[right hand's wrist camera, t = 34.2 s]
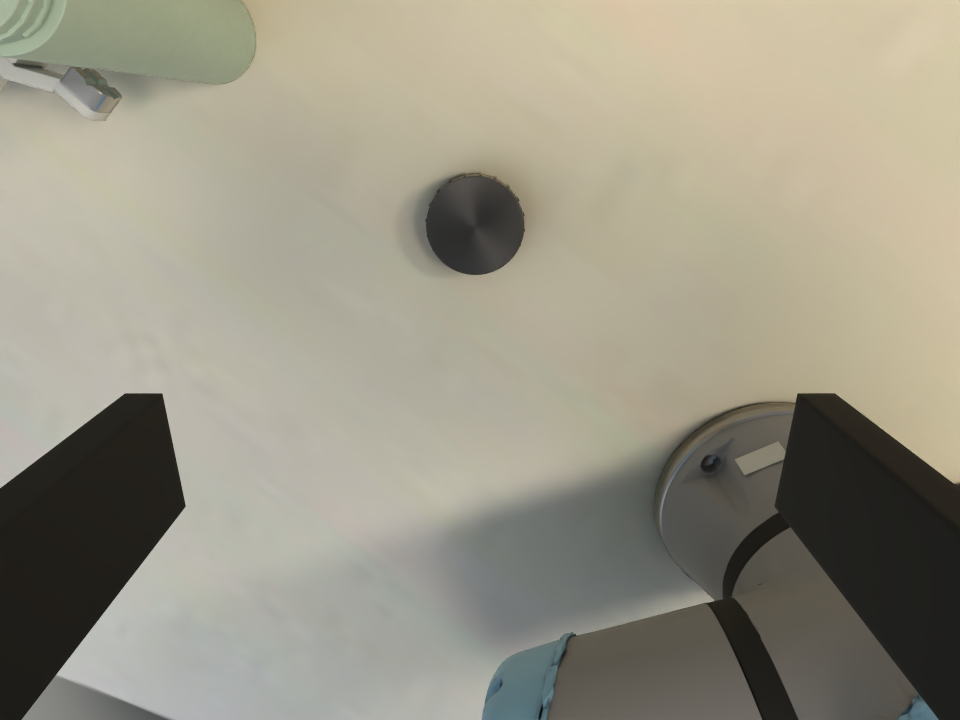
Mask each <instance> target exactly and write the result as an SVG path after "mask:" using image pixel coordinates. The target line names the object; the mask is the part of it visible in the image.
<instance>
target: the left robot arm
mask: <svg viewBox="0 0 960 720" xmlns="http://www.w3.org/2000/svg"><path fill="white" fill-rule="evenodd" d="M47 64H48V63H44V62H36V61H29V60H21V59H13V58H5V57H0V92H1V91H2V89H3V88H4V86H5V85H6V84H7V82H8V81H13V82H16V83H20V84H23V85H27V86H31V87H34V88H38V89H41V90H45V91H48V92H52V93H57V94H58V95H59V96H60V97H62V98H63V99H64V100H65V101H66V102H67V103H68V104H69V105H71V106H72V107H73V108H74V109H75V110H76V111H77V112H79V113H80V114H81V115H82V116H84V117H86V118H88V119H89V120H92V121H105V120H106V119H107V118H108V116H109V115H110V113H111V112H112V111H113V109H114V108H115V107H116V105H117V104H118V103H119V101H120V100H121V99H122V95H121V94H120V93H119V92H118V91H117V90H116V89H115V88H114V87H109V86H108V84H107V81H106V80H105V79H104V78H103V77H102V76H101V75H100V74H99V73H98V72H97V71H95V70H94V69H87V68H86V69H84V70H82V69H81V68H80V67H71V68H70V69H69V70H68V72H67V73H66V74H65V76H64V75H61V74H58V73H55V72H51V71H48V70H45V69H44V68H43V67H46V66H47Z"/></svg>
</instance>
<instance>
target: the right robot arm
mask: <svg viewBox="0 0 960 720" xmlns="http://www.w3.org/2000/svg"><path fill="white" fill-rule="evenodd" d="M185 507H186V506H185V501H184V496H183V491H182V486H181V481H180V477H179V472H178V467H177V462H176V457H175V453H174V448H173V443H172V438H171V433H170V428H169V424H168V419H167V414H166V409H165V404H164V399H163V395H162V394H124V395H123V396H121V397H120V398H119V399H117V400H116V401H115V402H113V403H112V404H111V405H109V406H108V407H107V408H105V409H104V410H103V411H102V412H100V413H99V414H98V415H96V416H95V417H94V418H92V419H91V420H90V421H88V422H87V423H86V424H84V425H83V426H82V427H80V428H79V429H78V430H77V431H75V432H74V433H73V434H71V435H70V436H69V437H67V438H66V439H65V440H63V441H62V442H61V443H59V444H58V445H57V446H55V447H54V448H53V449H51V450H50V451H49V452H48V453H46V454H45V455H44V456H42V457H41V458H40V459H38V460H37V461H36V462H34V463H33V464H32V465H30V466H29V467H28V468H26V469H25V470H24V471H23V472H21V473H20V474H19V475H17V476H16V477H15V478H13V479H12V480H11V481H9V482H8V483H7V484H5V485H4V486H3V487H1V488H0V720H22V718H23V717H24V716H25V714H26V713H27V712H28V710H29V709H30V708H31V707H32V705H33V704H34V703H35V701H36V700H37V699H38V697H39V696H40V695H41V694H42V692H43V691H44V690H45V688H46V687H47V686H48V684H49V683H50V682H51V681H52V679H53V678H54V677H55V675H56V674H57V673H58V671H59V670H60V669H61V668H62V666H63V665H64V664H65V662H66V661H67V660H68V658H69V657H70V656H71V655H72V653H73V652H74V651H75V649H76V648H77V647H78V645H79V644H80V643H81V642H82V640H83V639H84V638H85V636H86V635H87V634H88V633H89V631H90V630H91V629H92V627H93V626H94V625H95V623H96V622H97V621H98V620H99V618H100V617H101V616H102V614H103V613H104V612H105V610H106V609H107V608H108V607H109V605H110V604H111V603H112V601H113V600H114V599H115V597H116V596H117V595H118V594H119V592H120V591H121V590H122V588H123V587H124V586H125V584H126V583H127V582H128V581H129V579H130V578H131V577H132V575H133V574H134V573H135V571H136V570H137V569H138V568H139V566H140V565H141V564H142V562H143V561H144V560H145V558H146V557H147V556H148V555H149V553H150V552H151V551H152V549H153V548H154V547H155V546H156V544H157V543H158V542H159V540H160V539H161V538H162V536H163V535H164V534H165V533H166V531H167V530H168V529H169V527H170V526H171V525H172V523H173V522H174V521H175V520H176V518H177V517H178V516H179V514H180V513H181V512H182V510H183V509H184V508H185ZM654 510H655V519H656V523H657V527H658V530H659V532H660V535H661V537H662V539H663V542H664V544H665V546H666V549H667V551H668V552H669V554H670V556H671V558H672V559H673V560H674V562H675V563H676V564H677V565H678V567H679V568H680V569H681V570H682V571H683V572H684V573H685V574H686V575H687V576H688V577H690V578H691V579H692V580H693V581H695V582H696V583H697V584H698V585H699V586H700V587H701V588H702V589H703V590H704V591H705V592H706V593H707V594H708V595H709V596H711V597H712V598H713V599H714V600H715V601H713V602H709V603H703V604H699V605H695V606H691V607H688V608H684V609H680V610H676V611H672V612H668V613H664V614H661V615H657V616H653V617H649V618H645V619H641V620H638V621H634V622H630V623H626V624H622V625H618V626H615V627H611V628H607V629H603V630H599V631H595V632H591V633H587V634H583V635H578V636H576V634H574V633H573V632H571V633H567V634H564V635H563V636H562V637H561V638H560V640H557V641H553V642H550V643H547V644H544V645H541V646H538V647H534V648H531V649H528V650H525V651H522V652H519V653H516V654H514V655H512V656H510V657H509V658H507V659H506V660H505V661H504V662H503V663H502V664H501V665H500V666H499V667H498V669H497V671H496V672H495V674H494V676H493V678H492V680H491V682H490V685H489V688H488V691H487V695H486V700H485V706H484V709H483V715H482V720H960V486H956V485H955V484H953V483H952V482H951V481H949V480H948V479H947V478H945V477H944V476H943V475H941V474H940V473H939V472H937V471H936V470H935V469H934V468H932V467H931V466H930V465H928V464H927V463H926V462H924V461H923V460H922V459H920V458H919V457H918V456H916V455H915V454H914V453H912V452H911V451H910V450H909V449H907V448H906V447H905V446H903V445H902V444H901V443H899V442H898V441H897V440H895V439H894V438H893V437H891V436H890V435H889V434H887V433H886V432H885V431H883V430H882V429H881V428H880V427H878V426H877V425H876V424H874V423H873V422H872V421H870V420H869V419H868V418H866V417H865V416H864V415H862V414H861V413H860V412H858V411H857V410H856V409H855V408H853V407H852V406H851V405H849V404H848V403H847V402H845V401H844V400H843V399H841V398H840V397H839V396H837V395H836V394H798V395H797V399H796V404H793V403H764V404H757V405H752V406H747V407H744V408H740V409H737V410H734V411H731V412H729V413H726V414H724V415H722V416H720V417H718V418H715V419H714V420H712V421H710V422H709V423H707V424H705V425H704V426H702V427H701V428H699V429H698V430H697V431H695V432H694V433H693V434H692V435H691V436H689V437H688V438H687V439H686V440H685V441H684V442H683V443H682V444H681V445H680V446H679V448H678V449H677V450H676V451H675V452H674V454H673V455H672V456H671V458H670V459H669V461H668V462H667V464H666V466H665V468H664V470H663V472H662V474H661V476H660V479H659V482H658V485H657V489H656V494H655V502H654Z"/></svg>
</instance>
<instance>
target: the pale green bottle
mask: <svg viewBox="0 0 960 720" xmlns="http://www.w3.org/2000/svg"><path fill="white" fill-rule="evenodd" d="M255 46H256V35H255V28H254V24H253V21H252V19H251V16H250V14H249V12H248V10H247V8H246V7H245V5H244V4H243V3H242V1H241V0H0V57H5V58H13V59H21V60H29V61H36V62H44V63H52V64H60V65H68V66H75V67H83V68H91V69H99V70H107V71H114V72H122V73H130V74H138V75H146V76H153V77H161V78H169V79H177V80H185V81H192V82H200V83H208V84H224V83H228V82H231V81H233V80H235V79H237V78H238V77H240V76H241V75H242V74H243V73H244V72H245V71H246V70H247V68H248V67H249V65H250V64H251V62H252V59H253V56H254V53H255Z"/></svg>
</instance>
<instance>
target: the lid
mask: <svg viewBox="0 0 960 720" xmlns="http://www.w3.org/2000/svg"><path fill="white" fill-rule="evenodd" d="M518 201H519V199H518V197H515V195H514V193H513V192H512V191H511V190H510V187H509V186H508V185H507V186H506V185H505V184H504V183H503V182H501V181H500V180H498V179H497V178H496V177H495V176H494V177H491V176H489V175H484V174H481V173H480V172H479V174H466V173H464V175H462V176H459V177H457V178H455V179H453V180H451V179H450V180H449V182H448V183H447V184H445V185H444V186H443V187H442V188H441V189H438V191H437V194H436V196H435V198H434V199H433V201H432V202H431V203H430V204H429V206H430V208H429V211H428V215H427V218H426V222H427V223H426V228H427V237H428V240H429V243H430V245H431V247H432V249H433V251H434V252H435V254H436V255H437V257H438V258H439V259H440V260H441V261H442V262H443V263H444V264H445V265H447V266H448V267H450V268H452V269H453V270H455V271H458V272H461V273H464V274H470V275H481V274H487V273H490V272H493V271H495V270H497V269H499V268H501V267H503V266H504V265H505V264H506V263H508V262H509V261H510V260H511V259H512V258H513V256H514V255H515V254H516V252H517V250H518V249H519V247H520V245H521V242H522V238H523V234H524V232H525V229H524V217H523V216H524V213H523V211H522V209H521V207H520V204H519V202H518Z"/></svg>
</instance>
